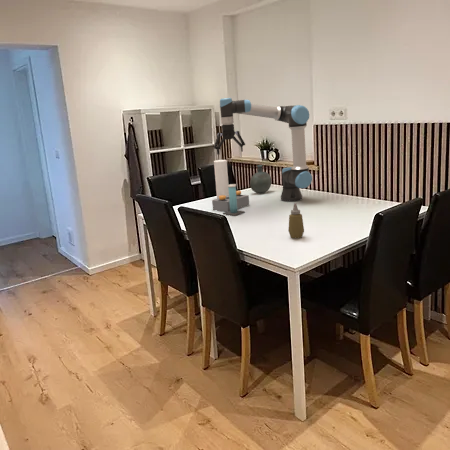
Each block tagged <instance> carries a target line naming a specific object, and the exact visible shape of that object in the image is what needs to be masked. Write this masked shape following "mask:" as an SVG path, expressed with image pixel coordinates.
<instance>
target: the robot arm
mask: <svg viewBox="0 0 450 450" xmlns="http://www.w3.org/2000/svg"><path fill="white" fill-rule="evenodd" d="M219 109H220V121H221V132H218V133H217V134H216V135H217V136H216V139H215V142H214V145H213V149H215V150H216V154H217V155H218V160H222V151H221V147H222V146H223V144H224V142H225V141H226V140H233V141H234V142H235V143H236V144H237V145H238V156H239V158H243V154H242V152H243V151H244V149H243V147H244V146H246V143H245V141H244V139H243V138H242V136H241V133H240V130H236V131H235V123H234V114H237V115H238V114H239V115H245V116H246V115H247V116H255V117H259V118H268V119H273V120H274V121H278V122H282V123H286V124H288V128H289V129H290V131H291V148H292V164H293V165H292V166H290V167H284V168H282V170H281V175H282V176H281V177H282V180H281V181H282V190H281V194H280V201H283V202H298V201H302V200H303V195H302V191H301V189H307V188H308V187H309V186H310V185H311V184H312V182H313V176H312V174H311V173H310V169H309V166H308V165H307V155H306V154H307V153H306V136H305V135H306V134H305V131H306V130H305V129H306V128H307V124H308V123H307V122H308V120H309V119H310V112H309V109H308V107H306V106H304V105H303V104H302V105H301V104H296V105H286V106H285V105H284V106H283V105H277V106H271V105H264V104H258V103H257V104H256V103H252V102H251V100H249V99H240V100H233V99H232V97H227V98H226V97H225V98H220V99H219ZM235 135H236V136H237V137H236V136H235ZM221 137H222V138H221ZM237 138H238V139H237ZM220 139H221V140H220ZM219 141H220V142H219Z"/></svg>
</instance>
